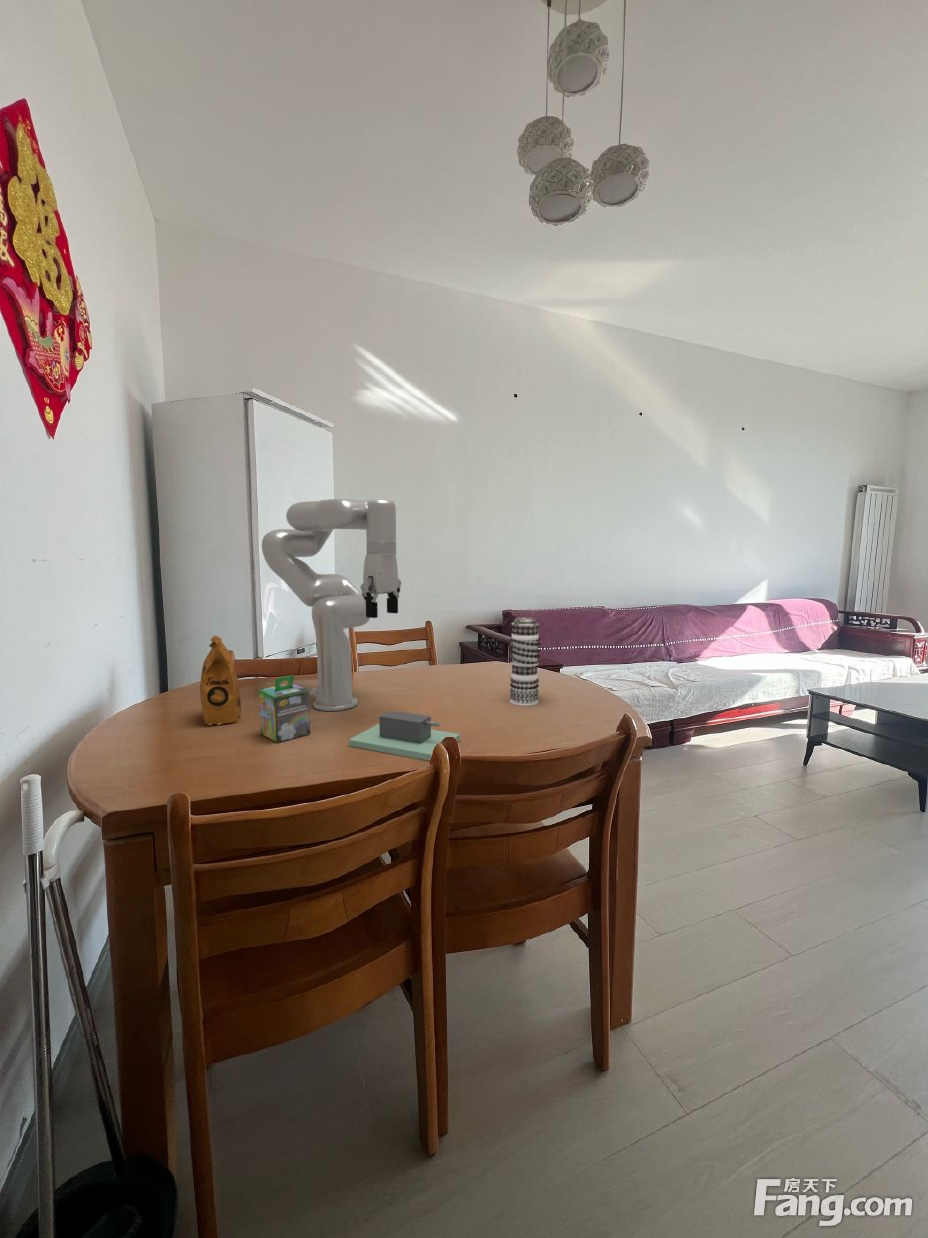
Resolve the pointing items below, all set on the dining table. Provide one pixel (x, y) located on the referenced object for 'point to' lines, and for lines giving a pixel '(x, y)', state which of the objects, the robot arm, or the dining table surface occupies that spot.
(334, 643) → the robot arm
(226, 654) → the coffee package
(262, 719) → the chalk box
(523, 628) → the decorative candle
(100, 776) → the dining table surface
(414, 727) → the plug housing
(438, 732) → the header board
